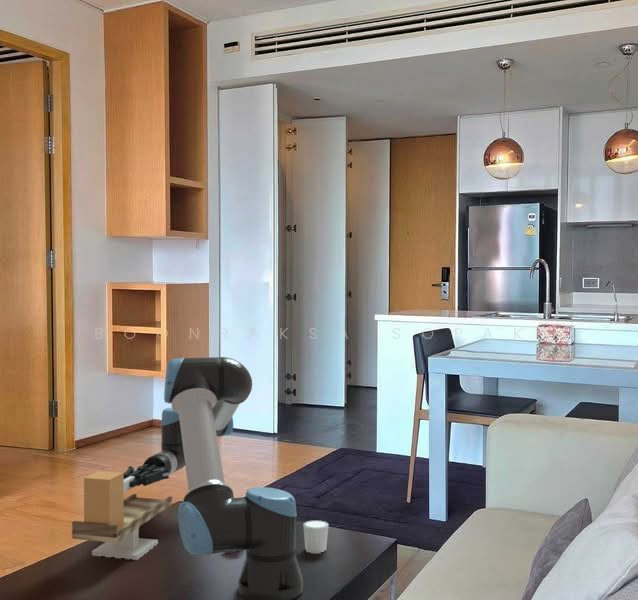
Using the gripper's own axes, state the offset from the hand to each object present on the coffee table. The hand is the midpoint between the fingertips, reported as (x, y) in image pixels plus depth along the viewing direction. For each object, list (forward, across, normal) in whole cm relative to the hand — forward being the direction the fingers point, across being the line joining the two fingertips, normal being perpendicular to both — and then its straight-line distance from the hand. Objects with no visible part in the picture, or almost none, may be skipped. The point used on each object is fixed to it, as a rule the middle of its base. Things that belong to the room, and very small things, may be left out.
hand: (121, 487), depth 193 cm
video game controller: (-10, -30, -17) cm, 36 cm away
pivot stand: (-1, -1, -17) cm, 17 cm away
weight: (+11, -1, -8) cm, 13 cm away
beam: (-1, -1, -12) cm, 12 cm away
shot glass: (-14, -50, -17) cm, 55 cm away
